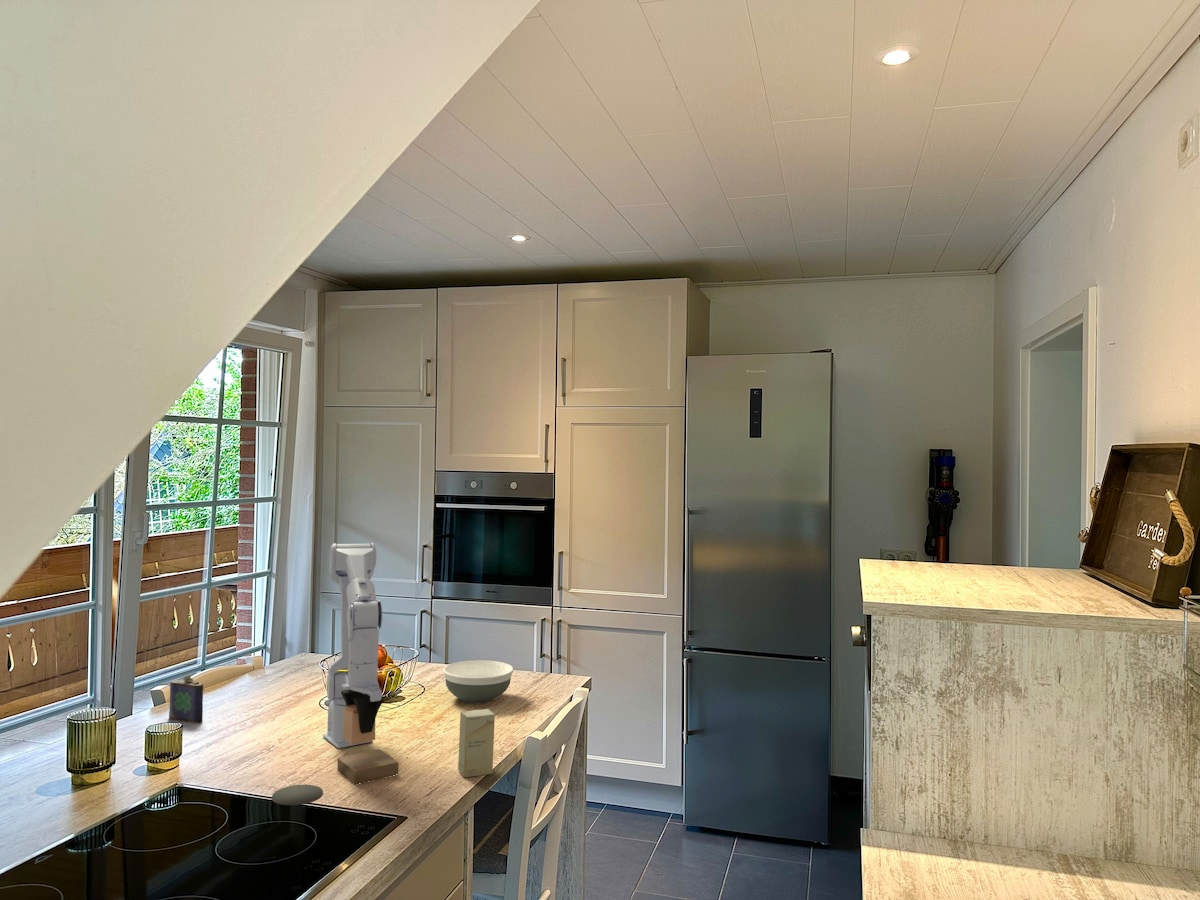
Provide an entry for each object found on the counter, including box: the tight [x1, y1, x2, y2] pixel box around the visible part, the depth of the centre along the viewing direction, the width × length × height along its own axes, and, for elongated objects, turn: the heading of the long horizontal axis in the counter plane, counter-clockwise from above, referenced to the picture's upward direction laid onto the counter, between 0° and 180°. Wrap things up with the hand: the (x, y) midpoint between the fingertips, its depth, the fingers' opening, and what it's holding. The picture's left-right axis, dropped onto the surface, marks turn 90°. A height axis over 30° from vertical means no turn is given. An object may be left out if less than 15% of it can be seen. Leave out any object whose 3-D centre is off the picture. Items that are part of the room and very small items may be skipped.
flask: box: [168, 674, 204, 724], centre depth 194 cm, size 9×3×11 cm, turn 71°
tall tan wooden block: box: [343, 704, 376, 746], centre depth 165 cm, size 5×5×6 cm
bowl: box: [442, 659, 514, 705], centre depth 217 cm, size 19×19×8 cm
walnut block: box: [336, 749, 399, 786], centre depth 165 cm, size 9×9×3 cm
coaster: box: [271, 784, 324, 806], centre depth 153 cm, size 9×9×1 cm
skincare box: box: [457, 708, 496, 778], centre depth 167 cm, size 6×4×12 cm
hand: (361, 728), depth 165 cm, fingers closed on tall tan wooden block, 5 cm apart
